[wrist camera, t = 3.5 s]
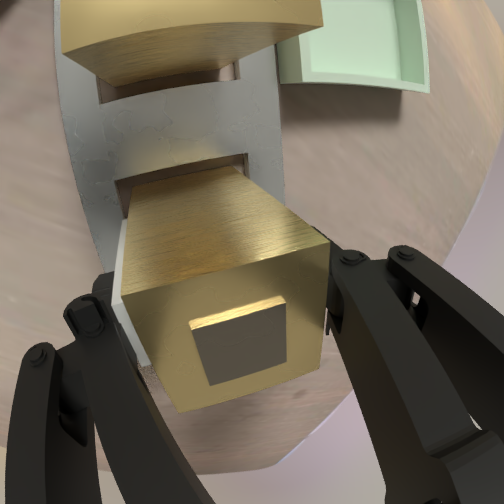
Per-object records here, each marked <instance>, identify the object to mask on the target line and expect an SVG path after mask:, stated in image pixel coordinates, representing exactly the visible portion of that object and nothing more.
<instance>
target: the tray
mask: <svg viewBox="0 0 504 504" xmlns="http://www.w3.org/2000/svg"><path fill="white" fill-rule="evenodd" d="M321 7H322V15H323V23H324V27H321V28H318V29H315V30H312V31H309V32H306V33H303V34H300V35H297V36H295V37H292V38H289V39H286V40H284V41H281V42H279V43H276V45H277V55H278V66H279V78H280V84H340V85H357V86H369V87H379V88H388V89H396V90H404V91H414V92H422V93H430V86H429V64H428V51H427V40H426V31H425V23H424V16H423V10H422V4H421V0H321Z"/></svg>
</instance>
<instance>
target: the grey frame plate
mask: <svg viewBox="0 0 504 504" xmlns="http://www.w3.org/2000/svg"><path fill="white" fill-rule="evenodd" d="M54 41H55V59H56V71H57V81H58V90H59V97H60V105H61V111H62V117H63V123H64V129H65V134H66V140H67V145H68V149H69V154H70V159H71V163H72V167H73V172H74V176H75V180H76V183H77V187H78V191H79V195H80V198H81V202H82V205H83V209H84V212H85V215H86V219H87V222H88V225H89V228H90V231H91V234H92V237H93V240H94V243H95V246H96V249H97V252H98V255H99V258H100V260H101V263H102V266H103V268H104V271H105V273H108V272H112V271H115V265H116V258H117V251H118V244H119V237H120V231H121V225H122V220H124V219H126V217H125V213H124V209H123V206H122V202H121V198H120V194H119V189H118V185H117V181H116V180H119V179H123V178H126V177H130V176H134V175H138V174H142V173H146V172H151V171H155V170H159V169H164V168H168V167H173V166H177V165H182V164H187V163H192V162H197V161H202V160H207V159H213V158H218V157H224V156H230V155H236V154H242V153H243V158H244V168H245V176H246V177H247V178H248V179H250V180H251V181H252V182H254V183H255V184H257V185H258V186H259V187H261V188H262V189H263V190H265V191H266V192H267V193H269V194H270V195H271V196H273V197H274V198H275V199H276V200H278V201H279V202H280V203H282V204H283V205H284V206H285V190H284V171H283V154H282V138H281V123H280V109H279V96H278V84H277V73H276V61H275V51H274V45H271V46H269V47H266V48H264V49H262V50H259V51H257V52H255V53H253V54H250V55H248V56H246V57H244V58H242V59H239V60H237V61H235V62H234V68H235V78H236V80H231V81H220V82H211V83H203V84H196V85H189V86H182V87H176V88H170V89H165V90H160V91H154V92H150V93H145V94H140V95H136V96H131V97H127V98H123V99H119V100H115V101H111V102H108V103H104V104H102V101H101V94H100V86H99V78H98V76H97V75H95V74H93V73H92V72H90V71H89V70H87V69H85V68H84V67H82V66H81V65H79V64H77V63H76V62H74V61H73V60H71V59H69V58H68V57H66V56H64V55H63V54H62V52H61V31H60V0H54Z"/></svg>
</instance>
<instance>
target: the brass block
mask: <svg viewBox="0 0 504 504" xmlns="http://www.w3.org/2000/svg"><path fill="white" fill-rule="evenodd" d="M329 256H330V241H329V240H327V239H326V238H325V237H324V236H322V235H321V234H320V233H319V232H317V231H316V230H315V229H314V228H312V227H311V226H310V225H309V224H307V223H306V222H305V221H304V220H302V219H301V218H300V217H299V216H297V215H296V214H295V213H293V212H292V211H291V210H290V209H288V208H287V207H286V206H284V205H283V204H282V203H280V202H279V201H278V200H276V199H275V198H274V197H273V196H271V195H270V194H269V193H267V192H266V191H265V190H263V189H262V188H261V187H259V186H258V185H257V184H255V183H254V182H252V181H251V180H250V179H248V178H247V177H246V176H244V175H243V174H242V173H240V172H239V171H237V170H236V169H235V168H233V167H232V166H226V167H221V168H216V169H210V170H205V171H200V172H195V173H190V174H186V175H181V176H176V177H172V178H167V179H163V180H159V181H154V182H150V183H146V184H142V185H138V186H134V187H132V193H131V199H130V206H129V213H128V220H127V228H126V236H125V245H124V255H123V266H122V278H121V294H120V296H121V299H122V301H123V304H124V306H125V308H126V311H127V313H128V315H129V318H130V320H131V322H132V324H133V327H134V329H135V331H136V333H137V335H138V337H139V340H140V342H141V344H142V346H143V348H144V350H145V352H146V354H147V356H148V358H149V360H150V362H151V364H152V366H153V368H154V370H155V372H156V374H157V376H158V378H159V379H160V381H161V383H162V385H163V387H164V389H165V391H166V392H167V394H168V396H169V398H170V399H171V401H172V403H173V405H174V406H175V408H176V410H177V411H178V413H183V412H187V411H191V410H195V409H199V408H203V407H207V406H211V405H214V404H218V403H221V402H225V401H228V400H232V399H235V398H238V397H242V396H245V395H248V394H251V393H254V392H257V391H260V390H263V389H266V388H269V387H272V386H275V385H278V384H280V383H283V382H286V381H289V380H291V379H294V378H297V377H299V376H302V375H304V374H307V373H309V372H312V371H314V370H317V369H319V365H320V357H321V349H322V340H323V331H324V321H325V310H326V299H327V287H328V273H329Z"/></svg>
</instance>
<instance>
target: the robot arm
mask: <svg viewBox="0 0 504 504" xmlns="http://www.w3.org/2000/svg"><path fill="white" fill-rule="evenodd" d="M127 220H128V219H124V220H122V225H121V231H120V237H119V244H118V251H117V258H116V265H115V271H112V272H108V273H104V274H100V275H99V276H98V278H97V279H96V280H95V282H94V283H93V288H92V293H91V294H86V295H82V296H80V297H78V298H76V299H74V300H73V301H72V302H71V303H69V304H68V305H67V307H66V308H65V310H64V313H63V317H64V319H65V321H66V323H67V324H68V326H69V328H70V330H71V331H72V333H73V335H74V336H75V341H74V342H72V343H70V344H69V345H67V346H65V347H63V348H61V349H59V350H55V348H54V347H53V345H52V344H50V343H48V342H42V343H39V344H36V345H34V346H33V347H31V348H30V349H29V350H28V351H27V352H26V354H25V355H24V357H23V359H22V363H21V367H20V371H19V375H18V380H17V384H16V389H15V394H14V399H13V405H12V411H11V417H10V424H9V432H8V441H7V453H6V470H5V504H102V500H101V493H100V486H99V479H98V469H97V459H96V447H95V431H94V422H95V425H96V429H97V432H98V435H99V438H100V441H101V444H102V447H103V450H104V452H105V455H106V458H107V460H108V463H109V466H110V468H111V471H112V473H113V475H114V478H115V480H116V483H117V485H118V487H119V490H120V492H121V494H122V496H123V499H124V501H125V503H126V504H216V503H215V502H214V501H213V499H212V498H211V496H210V495H209V494H208V492H207V491H206V489H205V488H204V486H203V485H202V483H201V482H200V480H199V479H198V477H197V476H196V474H195V473H194V471H193V470H192V468H191V466H190V465H189V463H188V462H187V460H186V458H185V457H184V455H183V453H182V452H181V450H180V448H179V447H178V445H177V443H176V441H175V440H174V438H173V436H172V434H171V432H170V431H169V429H168V427H167V425H166V423H165V421H164V420H163V418H162V416H161V414H160V412H159V410H158V408H157V406H156V404H155V402H154V400H153V398H152V396H151V394H150V392H149V390H148V388H147V386H146V383H145V381H144V379H143V377H142V375H141V373H140V372H139V370H138V368H137V359H138V361H139V363H140V365H141V366H142V367H144V366H149V365H152V364H151V362H150V360H149V358H148V356H147V354H146V352H145V350H144V348H143V346H142V344H141V342H140V340H139V337H138V335H137V333H136V331H135V329H134V327H133V324H132V322H131V320H130V318H129V315H128V313H127V311H126V308H125V306H124V304H123V301H122V299H121V296H120V294H121V278H122V266H123V255H124V245H125V236H126V228H127ZM311 227H312V228H314V229H315V230H316V231H317V232H319V233H320V234H321V235H322V236H324V237H325V238H326V239H327V240H329V241H330V256H329V273H328V287H327V299H326V308H327V309H328V312H327V322H326V335H329V330H330V328H331V331H332V333H333V336H334V338H335V341H336V343H337V346H338V349H339V351H340V354H341V357H342V359H343V362H344V364H345V367H346V370H347V373H348V375H349V378H350V381H351V383H352V386H353V389H354V392H355V394H356V397H357V400H358V403H359V406H360V408H361V411H362V414H363V417H364V420H365V423H366V426H367V429H368V432H369V435H370V437H371V441H372V444H373V446H374V450H375V453H376V456H377V459H378V462H379V465H380V468H381V471H382V475H383V478H384V481H385V484H386V495H385V504H504V316H503V315H502V314H500V313H499V312H498V311H497V310H496V309H495V308H493V307H492V306H491V305H490V304H489V303H487V302H486V301H485V300H483V299H482V298H481V297H480V296H479V295H477V294H476V293H475V292H474V291H472V290H471V289H470V288H468V287H467V286H466V285H465V284H463V283H462V282H461V281H459V280H458V279H456V278H455V277H454V276H453V275H451V274H450V273H449V272H447V271H446V270H445V269H443V268H442V267H441V266H439V265H438V264H436V263H435V262H434V261H432V260H431V259H429V258H428V257H427V256H425V255H424V254H422V253H421V252H420V251H418V250H416V249H414V248H412V247H409V246H406V245H404V246H403V245H399V246H394V247H392V248H390V250H389V252H388V258H387V259H381V260H370V258H369V257H368V256H367V255H366V254H364V253H362V252H360V251H356V250H343V249H341V248H340V247H339V246H338V245H336V244H335V243H334V242H333V241H331V240H330V239H329V238H327V237H326V236H325V235H324V234H322V233H321V232H320V231H319V230H318V229H316V228H315V227H313V226H311ZM415 292H416V293H417V294H418V295H419V296H420V299H419V303H418V305H416V304H415V303H413V302H412V300H413V296H414V293H415ZM469 414H470V415H469ZM470 416H471V417H472V418H473V419H474V420H475V421H476V423H477V424H478V425H479V426H480V427H481V429H482V430H479V429H478V428H477V427H476V426H475V425H474V423H473V421H472V419H471V418H470ZM441 501H442V503H441Z"/></svg>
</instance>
